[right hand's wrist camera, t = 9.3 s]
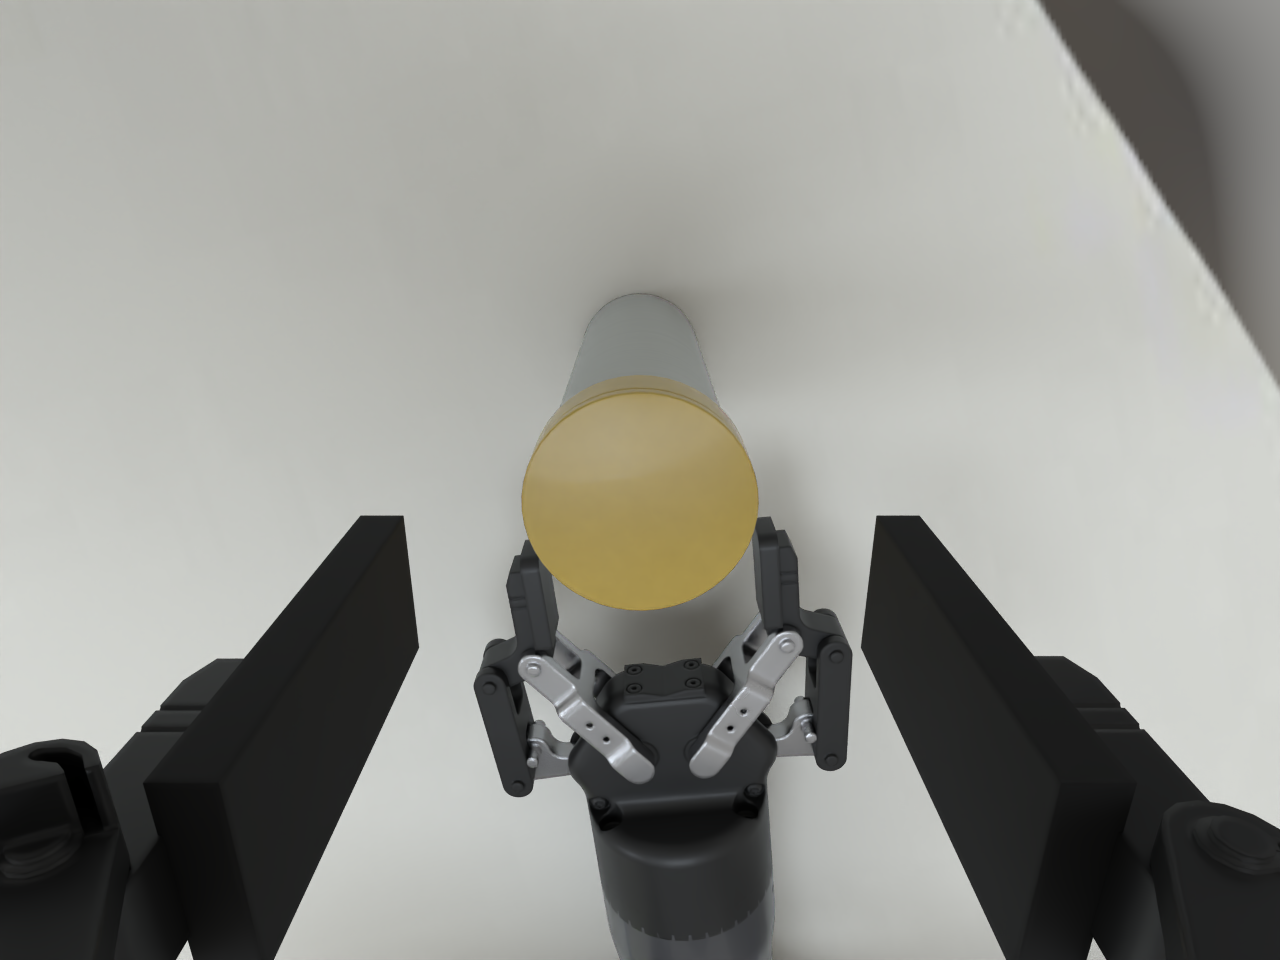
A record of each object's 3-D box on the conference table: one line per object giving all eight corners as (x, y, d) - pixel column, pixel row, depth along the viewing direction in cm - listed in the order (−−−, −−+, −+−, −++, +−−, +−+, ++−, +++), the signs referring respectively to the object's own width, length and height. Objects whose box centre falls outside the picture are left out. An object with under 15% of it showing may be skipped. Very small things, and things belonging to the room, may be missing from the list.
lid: (747, 575, 20) (756, 607, 18) (539, 581, 20) (531, 614, 19) (751, 370, 18) (761, 388, 17) (521, 377, 18) (510, 396, 17)
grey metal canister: (697, 405, 34) (743, 589, 19) (585, 409, 34) (543, 595, 19) (697, 291, 32) (746, 394, 17) (579, 295, 32) (526, 402, 17)
